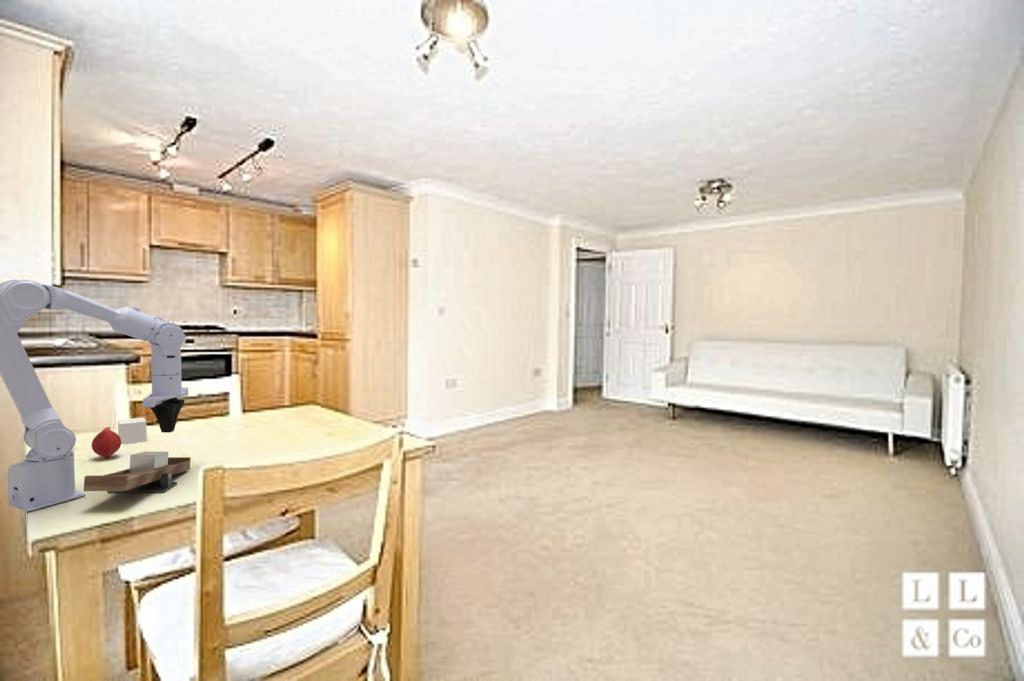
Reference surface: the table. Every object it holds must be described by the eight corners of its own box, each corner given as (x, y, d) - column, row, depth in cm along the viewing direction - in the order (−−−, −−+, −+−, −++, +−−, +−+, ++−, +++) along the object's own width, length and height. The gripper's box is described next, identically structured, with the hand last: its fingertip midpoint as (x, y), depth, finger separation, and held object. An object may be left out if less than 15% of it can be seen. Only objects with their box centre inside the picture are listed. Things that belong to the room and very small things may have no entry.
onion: (104, 462, 125) (104, 430, 125) (86, 460, 126) (85, 428, 126) (127, 455, 131) (126, 425, 130) (108, 453, 132) (108, 423, 131)
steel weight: (153, 473, 109) (155, 454, 109) (129, 473, 108) (130, 454, 108) (167, 469, 114) (168, 451, 114) (143, 469, 113) (144, 451, 113)
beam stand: (163, 493, 107) (163, 476, 107) (107, 493, 106) (106, 477, 106) (177, 484, 112) (176, 469, 112) (122, 484, 111) (122, 469, 111)
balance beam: (124, 491, 97) (125, 476, 98) (82, 491, 97) (83, 476, 97) (190, 469, 121) (191, 457, 121) (157, 469, 120) (157, 457, 121)
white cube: (144, 437, 148) (143, 417, 148) (146, 442, 144) (146, 421, 143) (118, 440, 144) (117, 419, 144) (120, 445, 140) (119, 424, 139)
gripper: (166, 379, 110) (168, 440, 111) (200, 370, 124) (201, 424, 125) (132, 378, 109) (133, 440, 110) (170, 369, 124) (171, 424, 125)
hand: (167, 431), depth 118 cm, fingers closed
